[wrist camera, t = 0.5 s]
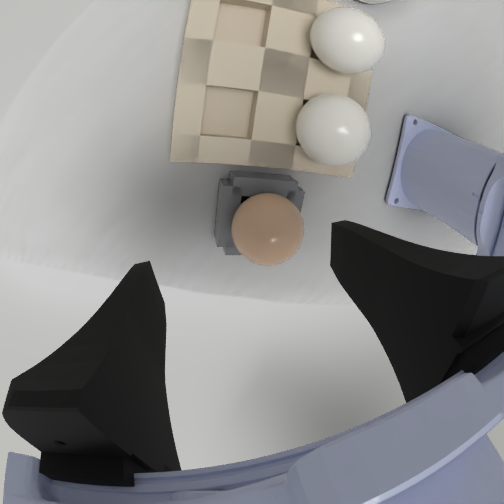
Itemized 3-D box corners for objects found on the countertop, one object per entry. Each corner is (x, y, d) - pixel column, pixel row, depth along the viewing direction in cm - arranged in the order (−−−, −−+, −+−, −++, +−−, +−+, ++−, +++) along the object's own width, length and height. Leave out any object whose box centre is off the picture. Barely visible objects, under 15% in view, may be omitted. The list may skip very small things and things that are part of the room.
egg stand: (297, 176, 20) (306, 183, 19) (284, 244, 22) (291, 255, 21) (220, 170, 18) (224, 176, 17) (213, 243, 21) (216, 254, 20)
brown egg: (294, 186, 19) (323, 210, 15) (283, 245, 21) (306, 278, 17) (230, 182, 18) (244, 206, 14) (223, 244, 20) (234, 280, 16)
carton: (363, 24, 15) (378, 21, 13) (339, 171, 20) (351, 178, 19) (195, -16, 12) (197, -27, 10) (171, 156, 17) (170, 161, 16)
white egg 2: (351, 101, 17) (392, 106, 13) (339, 162, 19) (376, 180, 15) (290, 86, 16) (323, 84, 12) (280, 153, 18) (308, 169, 14)
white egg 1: (361, 27, 14) (403, 18, 10) (354, 82, 16) (395, 84, 12) (302, 7, 13) (336, -13, 9) (294, 65, 15) (327, 58, 11)
